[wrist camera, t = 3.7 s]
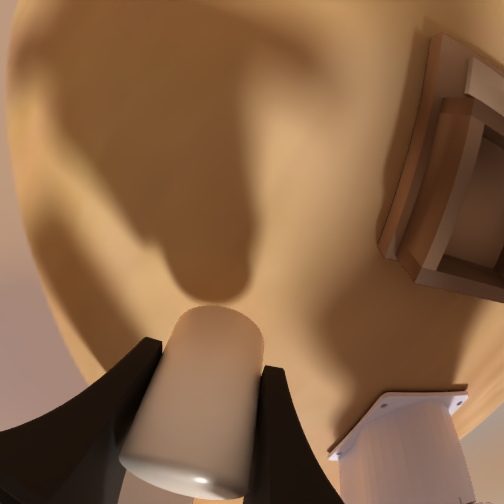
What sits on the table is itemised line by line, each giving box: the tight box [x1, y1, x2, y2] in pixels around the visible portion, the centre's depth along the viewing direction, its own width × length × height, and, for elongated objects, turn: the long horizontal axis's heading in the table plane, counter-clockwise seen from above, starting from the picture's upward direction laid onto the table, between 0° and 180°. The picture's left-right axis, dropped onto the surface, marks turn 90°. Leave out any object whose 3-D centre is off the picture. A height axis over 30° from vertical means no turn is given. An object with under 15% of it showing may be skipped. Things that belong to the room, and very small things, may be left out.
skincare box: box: [118, 470, 194, 504], centre depth 12 cm, size 6×4×12 cm
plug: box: [119, 305, 264, 500], centre depth 9 cm, size 4×4×6 cm
